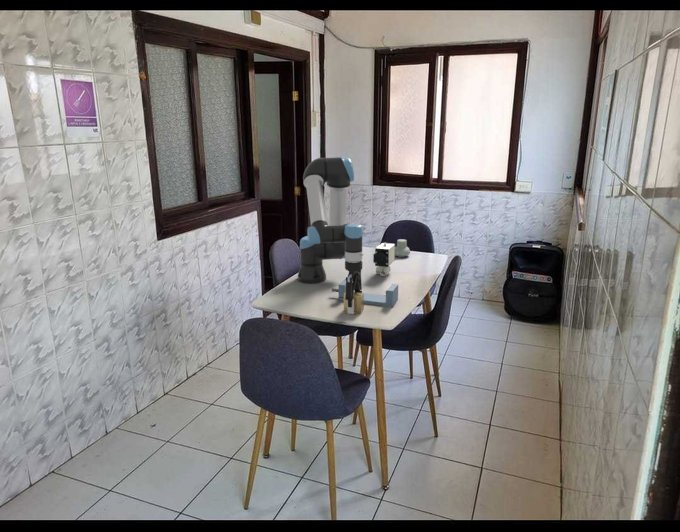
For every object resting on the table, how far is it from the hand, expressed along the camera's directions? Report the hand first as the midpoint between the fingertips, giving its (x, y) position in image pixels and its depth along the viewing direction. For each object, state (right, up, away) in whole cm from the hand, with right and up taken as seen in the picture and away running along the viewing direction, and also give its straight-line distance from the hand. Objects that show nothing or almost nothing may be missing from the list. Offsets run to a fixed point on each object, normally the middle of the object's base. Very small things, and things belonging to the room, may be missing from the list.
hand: (353, 310), depth 216 cm
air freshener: (+32, +26, +88) cm, 97 cm away
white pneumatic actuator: (+18, +15, +51) cm, 56 cm away
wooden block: (0, 0, 0) cm, 0 cm away
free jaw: (-6, +7, +17) cm, 19 cm away
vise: (+7, +4, +13) cm, 15 cm away
